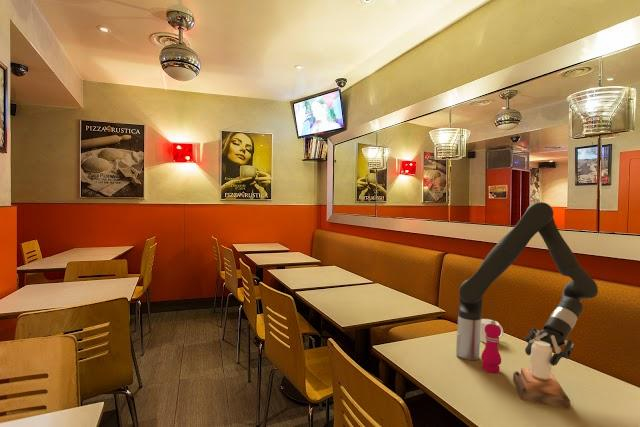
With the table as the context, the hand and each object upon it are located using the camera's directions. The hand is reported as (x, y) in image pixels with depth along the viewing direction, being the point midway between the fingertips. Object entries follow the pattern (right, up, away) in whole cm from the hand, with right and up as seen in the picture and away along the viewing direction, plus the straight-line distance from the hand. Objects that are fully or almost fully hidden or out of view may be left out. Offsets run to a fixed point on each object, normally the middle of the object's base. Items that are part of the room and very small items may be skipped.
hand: (539, 358), depth 120 cm
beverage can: (+1, -7, +1) cm, 7 cm away
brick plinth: (+1, -13, +1) cm, 13 cm away
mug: (+7, -12, +49) cm, 50 cm away
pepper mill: (-8, -12, +18) cm, 23 cm away
